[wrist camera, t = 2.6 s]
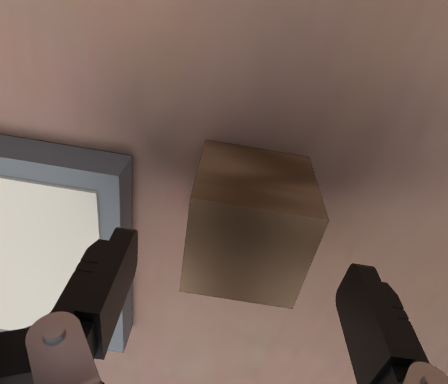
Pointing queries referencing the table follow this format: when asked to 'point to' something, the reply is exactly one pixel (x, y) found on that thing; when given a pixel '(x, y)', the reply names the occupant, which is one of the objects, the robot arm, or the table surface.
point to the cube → (252, 225)
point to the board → (56, 223)
